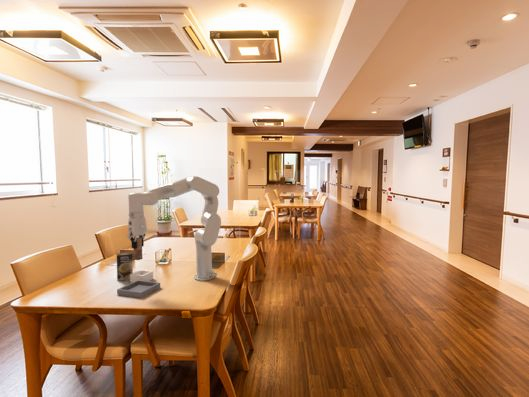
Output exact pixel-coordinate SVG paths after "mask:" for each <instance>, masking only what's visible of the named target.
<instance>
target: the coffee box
mask: <svg viewBox="0 0 529 397" xmlns="http://www.w3.org/2000/svg"><path fill="white" fill-rule="evenodd" d="M115 256H116V280H117V282H121V281H126V280H127V281H128V280H130V274H132V273H134V272H133V271H134V270H133V269H134V268H133V252H120V253H116V254H115Z"/></svg>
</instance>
